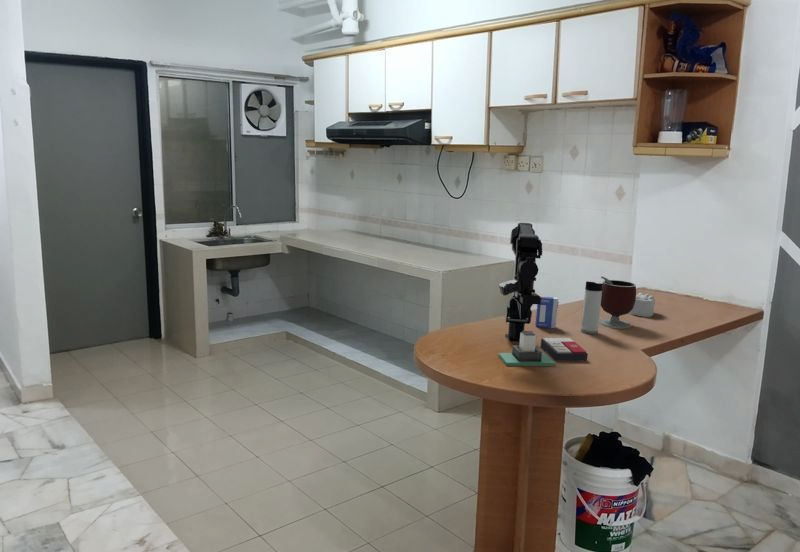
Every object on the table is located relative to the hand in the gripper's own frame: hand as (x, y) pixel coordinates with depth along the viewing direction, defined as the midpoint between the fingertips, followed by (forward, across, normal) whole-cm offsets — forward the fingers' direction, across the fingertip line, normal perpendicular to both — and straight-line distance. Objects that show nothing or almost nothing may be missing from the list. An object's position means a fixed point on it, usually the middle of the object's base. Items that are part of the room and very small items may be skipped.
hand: (522, 318), depth 222 cm
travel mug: (+12, -28, +36) cm, 47 cm away
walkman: (+12, -35, +21) cm, 43 cm away
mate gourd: (+12, -40, +51) cm, 66 cm away
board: (+12, +8, 0) cm, 14 cm away
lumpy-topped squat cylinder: (+12, -60, +73) cm, 95 cm away
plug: (+10, +8, 0) cm, 13 cm away
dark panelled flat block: (+13, 0, +15) cm, 20 cm away
